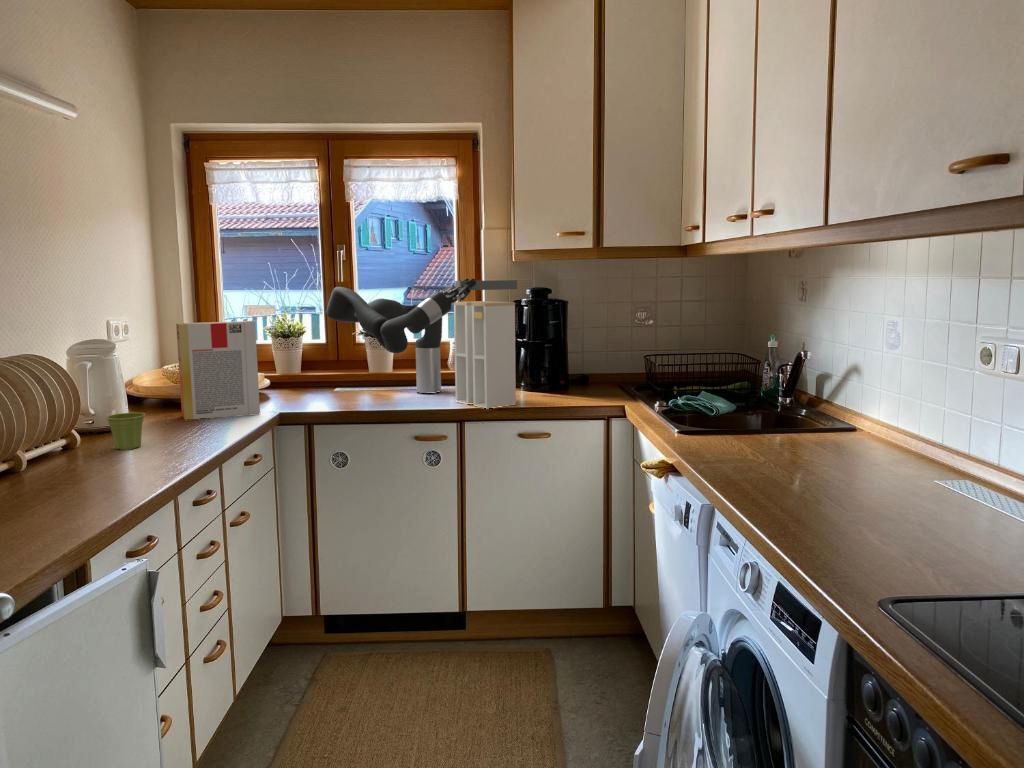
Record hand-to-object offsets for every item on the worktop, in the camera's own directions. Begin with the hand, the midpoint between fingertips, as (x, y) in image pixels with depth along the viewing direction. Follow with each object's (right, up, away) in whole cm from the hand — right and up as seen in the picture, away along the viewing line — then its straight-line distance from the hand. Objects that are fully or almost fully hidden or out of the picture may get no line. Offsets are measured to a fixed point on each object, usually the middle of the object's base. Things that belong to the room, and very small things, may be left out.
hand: (471, 280), depth 271 cm
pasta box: (-81, -44, -3) cm, 92 cm away
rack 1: (+1, -40, +19) cm, 45 cm away
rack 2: (+7, -41, +11) cm, 43 cm away
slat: (+5, -2, +4) cm, 7 cm away
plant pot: (-88, -51, -52) cm, 114 cm away
